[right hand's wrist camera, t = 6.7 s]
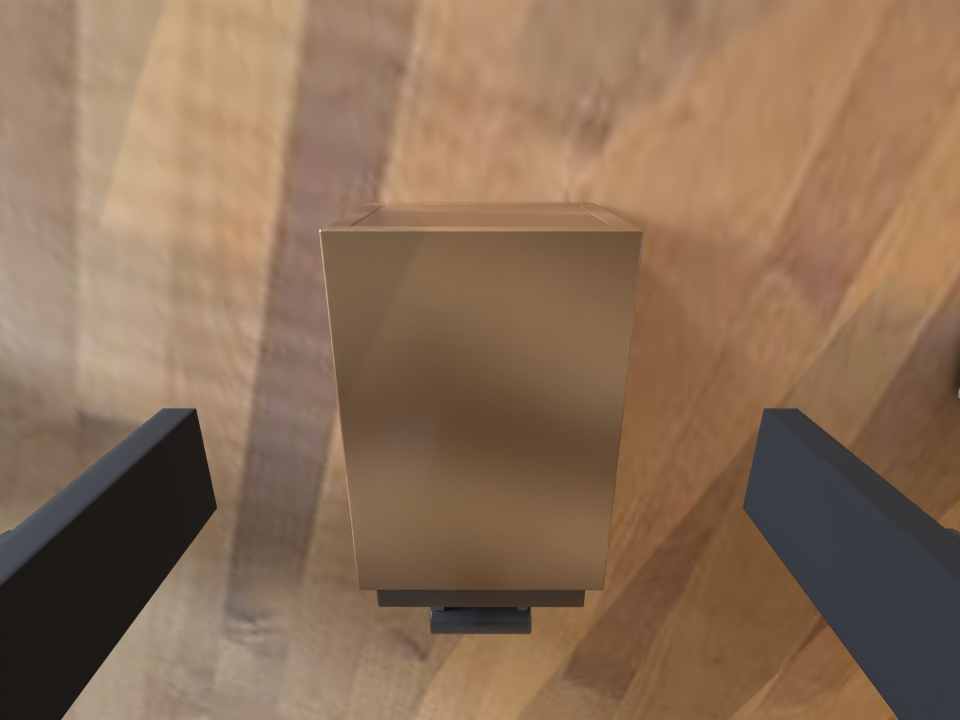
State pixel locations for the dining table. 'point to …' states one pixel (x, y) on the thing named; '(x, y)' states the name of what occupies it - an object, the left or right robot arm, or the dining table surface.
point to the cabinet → (481, 389)
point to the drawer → (480, 608)
